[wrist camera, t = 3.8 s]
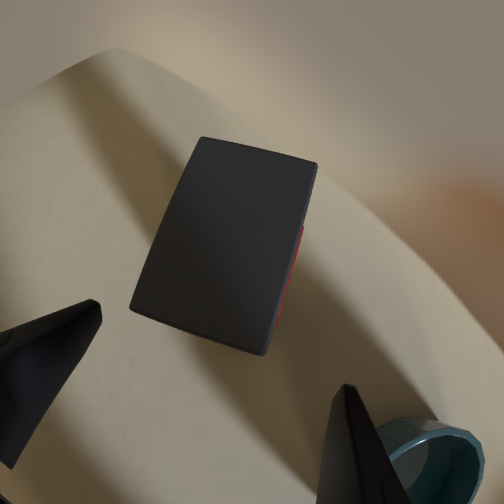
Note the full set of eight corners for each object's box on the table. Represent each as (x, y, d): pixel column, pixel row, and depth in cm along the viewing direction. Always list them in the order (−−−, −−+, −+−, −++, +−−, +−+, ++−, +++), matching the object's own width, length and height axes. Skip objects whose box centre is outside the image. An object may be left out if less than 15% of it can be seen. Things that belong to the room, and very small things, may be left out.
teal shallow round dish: (358, 546, 14) (373, 575, 10) (309, 463, 17) (321, 490, 13) (462, 479, 15) (492, 494, 11) (431, 389, 18) (466, 395, 14)
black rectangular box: (263, 349, 19) (269, 359, 6) (213, 333, 20) (123, 307, 6) (284, 280, 21) (323, 162, 7) (236, 266, 21) (196, 133, 8)
